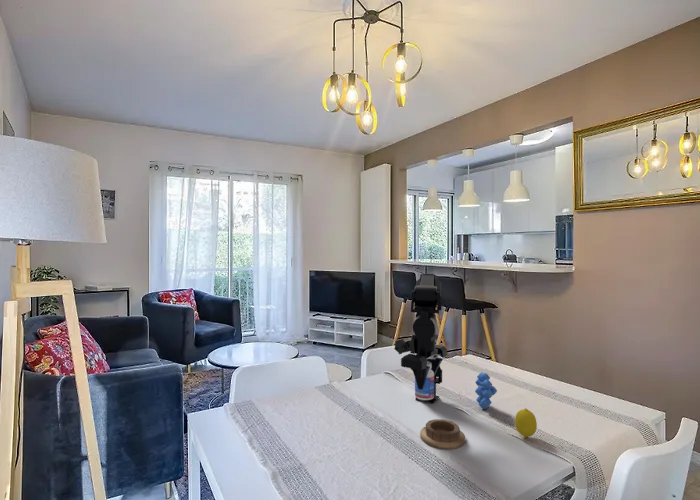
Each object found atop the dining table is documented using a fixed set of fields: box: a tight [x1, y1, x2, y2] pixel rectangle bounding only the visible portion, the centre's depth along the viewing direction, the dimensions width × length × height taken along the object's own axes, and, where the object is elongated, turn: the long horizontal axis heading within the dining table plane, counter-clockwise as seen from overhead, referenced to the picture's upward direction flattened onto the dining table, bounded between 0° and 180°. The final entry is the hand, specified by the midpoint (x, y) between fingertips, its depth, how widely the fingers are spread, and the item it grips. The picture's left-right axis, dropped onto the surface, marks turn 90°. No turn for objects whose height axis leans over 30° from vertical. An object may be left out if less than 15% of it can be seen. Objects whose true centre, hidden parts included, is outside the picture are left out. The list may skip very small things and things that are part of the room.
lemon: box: [514, 408, 538, 438], centre depth 110 cm, size 6×6×8 cm
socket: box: [419, 418, 466, 450], centre depth 110 cm, size 12×12×3 cm
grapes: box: [474, 372, 498, 410], centre depth 130 cm, size 12×7×12 cm, turn 177°
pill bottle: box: [414, 361, 434, 400], centre depth 114 cm, size 6×5×10 cm
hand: (424, 386), depth 114 cm, fingers closed on pill bottle, 5 cm apart
